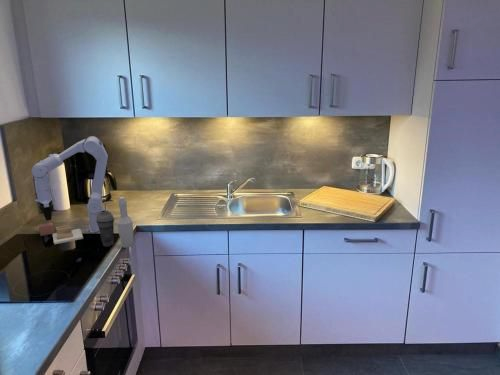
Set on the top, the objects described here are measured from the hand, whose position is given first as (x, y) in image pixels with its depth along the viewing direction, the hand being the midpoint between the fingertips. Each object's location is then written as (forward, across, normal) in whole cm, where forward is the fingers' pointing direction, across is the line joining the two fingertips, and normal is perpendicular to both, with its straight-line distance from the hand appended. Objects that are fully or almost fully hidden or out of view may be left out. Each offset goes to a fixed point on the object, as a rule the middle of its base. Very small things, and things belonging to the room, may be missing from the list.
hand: (48, 217), depth 189 cm
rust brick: (+9, -3, -1) cm, 9 cm away
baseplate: (+8, +8, +6) cm, 13 cm away
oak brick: (+7, +9, +5) cm, 13 cm away
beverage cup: (+9, +26, +21) cm, 35 cm away
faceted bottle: (+8, +32, +28) cm, 43 cm away
